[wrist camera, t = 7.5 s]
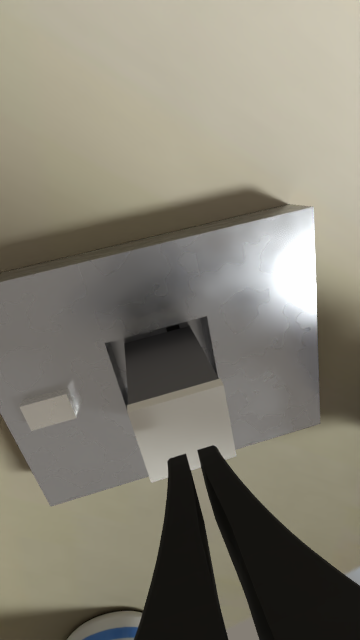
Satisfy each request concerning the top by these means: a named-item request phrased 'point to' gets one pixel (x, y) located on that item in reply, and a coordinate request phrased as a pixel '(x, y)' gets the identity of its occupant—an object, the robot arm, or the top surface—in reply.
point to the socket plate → (151, 319)
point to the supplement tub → (109, 627)
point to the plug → (175, 401)
